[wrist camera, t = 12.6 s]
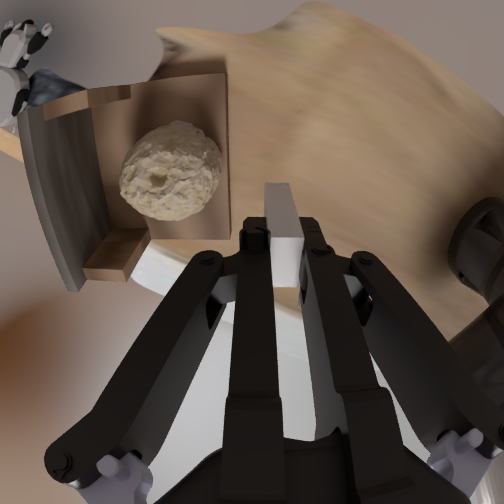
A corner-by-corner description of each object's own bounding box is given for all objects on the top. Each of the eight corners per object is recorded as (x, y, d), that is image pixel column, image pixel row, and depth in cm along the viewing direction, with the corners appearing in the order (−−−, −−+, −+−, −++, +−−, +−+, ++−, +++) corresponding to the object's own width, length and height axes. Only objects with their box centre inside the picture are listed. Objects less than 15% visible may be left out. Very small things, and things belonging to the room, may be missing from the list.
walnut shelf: (227, 74, 23) (204, 64, 13) (231, 230, 33) (219, 302, 23) (89, 95, 23) (16, 114, 13) (112, 231, 33) (68, 290, 23)
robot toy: (19, 19, 15) (-13, 111, 21) (0, 17, 11) (-32, 117, 18) (70, 25, 18) (30, 131, 25) (49, 20, 14) (9, 138, 21)
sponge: (173, 116, 27) (92, 135, 20) (241, 119, 23) (145, 137, 16) (179, 192, 32) (108, 224, 26) (241, 211, 28) (162, 256, 21)
